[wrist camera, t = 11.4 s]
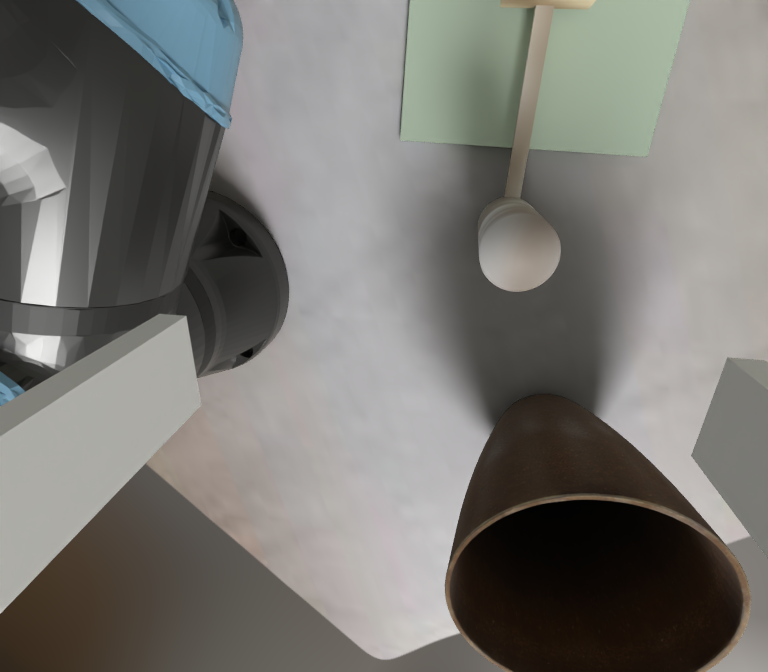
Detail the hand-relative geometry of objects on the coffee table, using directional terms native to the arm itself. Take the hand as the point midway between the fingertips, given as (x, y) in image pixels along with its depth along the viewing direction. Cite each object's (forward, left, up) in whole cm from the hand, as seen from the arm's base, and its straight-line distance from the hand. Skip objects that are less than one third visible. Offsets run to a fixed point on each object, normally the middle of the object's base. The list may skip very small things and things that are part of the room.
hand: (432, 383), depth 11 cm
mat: (+3, +13, -24) cm, 27 cm away
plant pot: (+9, -16, -24) cm, 30 cm away
